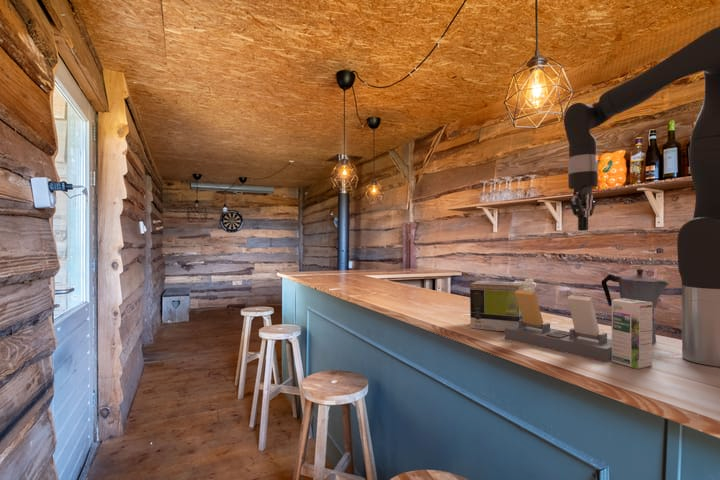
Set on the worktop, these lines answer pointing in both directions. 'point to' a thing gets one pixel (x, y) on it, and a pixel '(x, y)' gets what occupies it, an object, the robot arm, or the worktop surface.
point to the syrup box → (632, 333)
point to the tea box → (494, 305)
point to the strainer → (529, 285)
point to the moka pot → (637, 290)
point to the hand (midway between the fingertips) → (583, 230)
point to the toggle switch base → (562, 341)
